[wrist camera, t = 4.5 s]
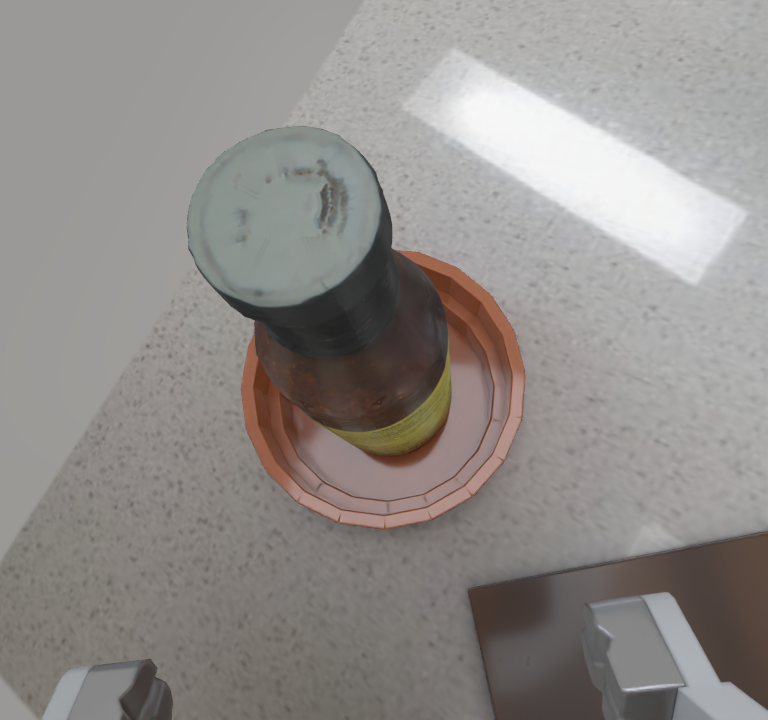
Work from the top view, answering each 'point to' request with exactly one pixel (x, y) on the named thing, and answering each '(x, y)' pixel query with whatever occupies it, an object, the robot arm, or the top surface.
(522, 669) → the board
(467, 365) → the bowl
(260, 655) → the top surface
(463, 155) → the top surface
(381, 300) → the sauce bottle
